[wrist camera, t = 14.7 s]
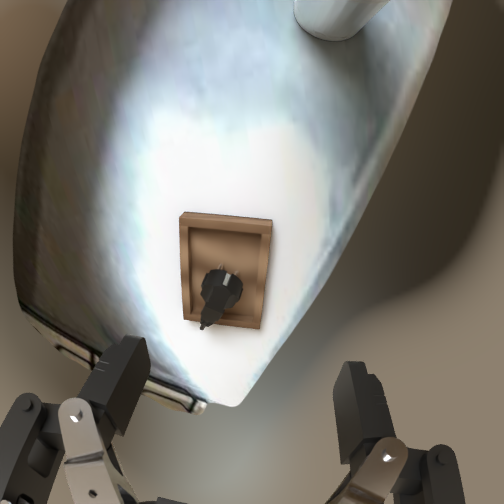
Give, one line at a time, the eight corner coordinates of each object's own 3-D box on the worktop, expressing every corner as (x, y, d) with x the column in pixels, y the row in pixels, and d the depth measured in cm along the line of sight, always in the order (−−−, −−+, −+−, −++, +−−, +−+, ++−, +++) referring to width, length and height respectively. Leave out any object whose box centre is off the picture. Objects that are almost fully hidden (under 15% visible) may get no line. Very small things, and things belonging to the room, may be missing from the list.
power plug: (183, 325, 44) (197, 293, 35) (199, 288, 49) (216, 248, 40) (216, 339, 45) (239, 310, 36) (229, 301, 50) (254, 265, 40)
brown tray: (184, 211, 40) (179, 217, 38) (272, 219, 40) (271, 226, 37) (187, 310, 48) (183, 319, 45) (260, 319, 47) (259, 329, 45)
